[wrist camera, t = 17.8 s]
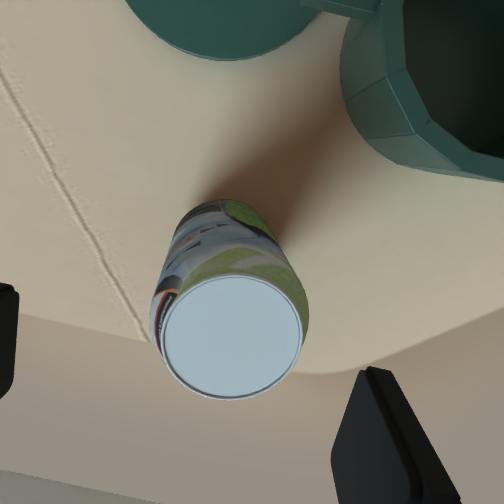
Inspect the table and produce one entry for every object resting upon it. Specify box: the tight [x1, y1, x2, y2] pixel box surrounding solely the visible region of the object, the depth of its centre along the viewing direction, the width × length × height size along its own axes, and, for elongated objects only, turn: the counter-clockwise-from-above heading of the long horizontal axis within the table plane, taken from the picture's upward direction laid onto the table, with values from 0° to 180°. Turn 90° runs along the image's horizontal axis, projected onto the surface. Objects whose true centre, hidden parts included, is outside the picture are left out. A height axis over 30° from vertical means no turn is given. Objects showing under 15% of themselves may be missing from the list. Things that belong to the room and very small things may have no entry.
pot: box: [300, 0, 504, 183], centre depth 17 cm, size 12×17×8 cm
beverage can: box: [150, 200, 309, 400], centre depth 19 cm, size 6×7×12 cm
